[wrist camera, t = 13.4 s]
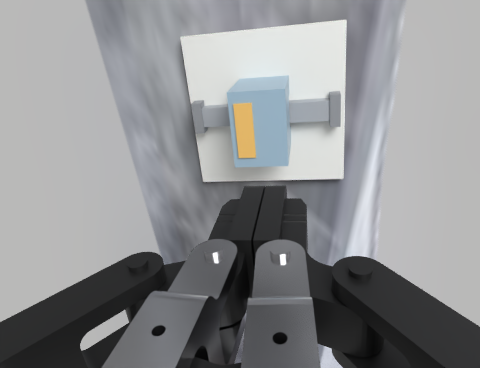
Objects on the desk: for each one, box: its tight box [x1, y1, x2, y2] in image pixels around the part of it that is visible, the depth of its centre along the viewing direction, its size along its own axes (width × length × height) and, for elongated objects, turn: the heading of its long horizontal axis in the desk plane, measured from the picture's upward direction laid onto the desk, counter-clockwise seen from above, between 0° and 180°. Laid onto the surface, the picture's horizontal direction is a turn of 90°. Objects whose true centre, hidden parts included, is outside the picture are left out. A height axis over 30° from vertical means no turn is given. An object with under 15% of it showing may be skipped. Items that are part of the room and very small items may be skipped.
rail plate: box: [180, 20, 346, 182], centre depth 38 cm, size 16×16×2 cm
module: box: [227, 75, 291, 167], centre depth 35 cm, size 7×5×7 cm
